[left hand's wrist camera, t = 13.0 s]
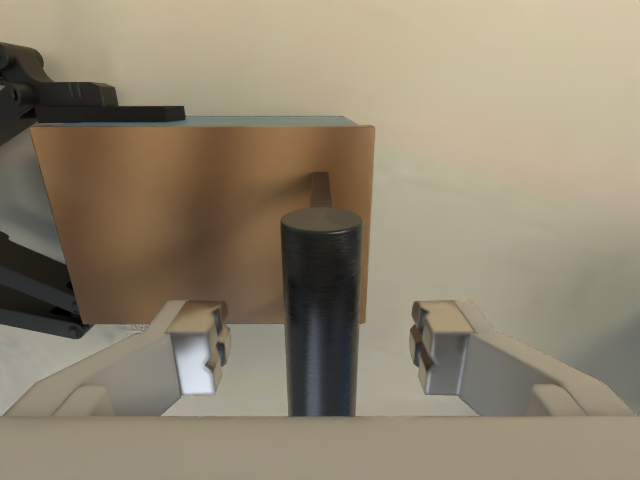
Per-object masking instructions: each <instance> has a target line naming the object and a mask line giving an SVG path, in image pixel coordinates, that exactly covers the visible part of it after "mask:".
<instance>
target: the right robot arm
mask: <svg viewBox="0 0 640 480" xmlns="http://www.w3.org/2000/svg"><path fill="white" fill-rule="evenodd" d="M43 64H44V61H43V58H42V56H41V55H40V53H39V52H38V51H36V50H35V49H32V48H29V47H23V46H18V45H13V44H7V43H2V42H0V85H5V87H4V88H3V89H2V90H1V91H0V146H1V145H3V144H4V143H6V142H7V141H9V140H10V139H12V138H13V137H15V136H16V135H18V134H19V133H21V132H22V131H24V130H25V129H27V128H28V127H30V126H31V125H33V124H34V123H36V122H37V121H38V123H82V122H172V121H179V120H185V112H184V106H118V101H117V96H116V90H115V87H112V86H110V85H107V84H104V83H93V82H54V81H52V80H51V79H50V78H49V77H48V76H47V75H46V73H45V72H44V70H43ZM8 238H9V236H8V235H7V234H5V233H3V232H1V231H0V324H3V325H8V326H13V327H18V328H23V329H28V330H32V331H37V332H42V333H47V334H52V335H57V336H62V337H67V338H72V339H79V338H81V337H82V336H83V335H84V334H85V333H87V332H88V331H89V330H90V329H91V328H92V327H93V326H94V325H95V324H83V323H82V319H81V316H80V312H79V308H78V305H77V301H76V297H75V294H74V290H73V286H72V283H71V279H70V276H69V272H68V268H67V265H65V264H63V263H60V262H58V261H56V260H53V259H51V258H49V257H46V256H44V255H42V254H39V253H37V252H35V251H32V250H30V249H28V248H26V247H23V246H21V245H19V244H16V243H14V242H12V241H10V240H9V239H8Z"/></svg>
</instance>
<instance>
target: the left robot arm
mask: <svg viewBox="0 0 640 480" xmlns="http://www.w3.org/2000/svg"><path fill="white" fill-rule="evenodd" d="M227 317H228V309H227V304H226V302H225V301H204V300H189V301H188V300H170V301H167V302H166V304H165V305H164V306H163V308H162V309H161V310H160V311H159V313H158V314H157V315H156V317H155V318H154V319H153V320H152V322H151V323H150V324H149V326H148V327H147V328H146V329H145V331H144V332H143V333H136V334H134V335H132V336H130V337H128V338H126V339H124V340H122V341H120V342H118V343H116V344H114V345H112V346H110V347H108V348H106V349H104V350H102V351H100V352H98V353H95V354H93V355H91V356H89V357H87V358H85V359H83V360H81V361H79V362H77V363H75V364H73V365H71V366H69V367H67V368H65V369H63V370H61V371H59V372H57V373H55V374H53V375H51V376H49V377H46V378H44V379H42V380H40V381H38V382H36V383H35V384H34V385H33V386H32V387H31V388H30V389H29V390H28V391H27V392H26V393H25V394H24V395H23V396H22V397H21V398H20V399H19V400H18V401H17V402H16V403H15V404H14V405H13V406H12V407H11V408H10V409H9V410H8V411H7V412H6V413H5V414H4V415H3V416H0V480H640V416H638V415H637V414H636V413H635V412H634V411H633V410H632V409H631V408H630V407H628V406H627V405H626V404H625V403H624V402H623V401H622V400H621V399H620V398H619V397H618V396H617V395H616V394H615V393H614V392H613V391H612V390H611V389H610V388H609V387H608V386H607V385H606V384H605V383H603V382H601V381H599V380H597V379H595V378H593V377H591V376H589V375H587V374H585V373H583V372H581V371H579V370H577V369H575V368H573V367H571V366H569V365H567V364H565V363H563V362H561V361H559V360H557V359H555V358H553V357H551V356H549V355H546V354H544V353H542V352H540V351H538V350H536V349H534V348H532V347H530V346H528V345H526V344H524V343H522V342H520V341H518V340H516V339H514V338H512V337H510V336H508V335H506V334H504V333H497V332H496V331H495V329H494V328H493V327H492V326H491V324H490V323H489V322H488V320H487V319H486V318H485V317H484V315H483V314H482V313H481V311H480V310H479V309H478V308H477V306H476V305H475V304H474V303H473V301H471V300H445V301H415V302H414V304H413V308H412V317H413V320H414V322H415V324H414V326H413V327H412V328H411V329H410V339H409V341H410V353H411V357H412V360H413V363H414V364H415V365H416V366H417V367H419V371H418V377H419V380H420V383H421V385H422V388H423V391H424V393H425V395H455V396H459V398H461V399H462V400H463V401H464V402H465V403H466V404H467V405H468V406H470V407H471V408H472V409H473V410H474V411H475V412H476V413H477V414H479V415H480V416H161V415H162V414H163V413H164V412H165V411H166V410H167V409H168V408H170V407H171V406H172V405H173V404H174V403H175V402H176V401H177V400H179V399H180V398H181V396H184V395H215V394H216V391H217V388H218V385H219V383H220V380H221V377H222V370H221V367H223V366H224V365H225V364H226V363H227V360H228V357H229V352H230V344H231V336H230V329H229V328H228V327H227V326H226V324H225V322H226V320H227Z"/></svg>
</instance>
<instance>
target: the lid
mask: <svg viewBox="0 0 640 480" xmlns="http://www.w3.org/2000/svg"><path fill="white" fill-rule="evenodd" d="M29 130H30V134H31V137H32V141H33V144H34V148H35V152H36V155H37V159H38V163H39V166H40V170H41V174H42V177H43V181H44V185H45V188H46V192H47V195H48V199H49V203H50V206H51V210H52V214H53V217H54V221H55V225H56V228H57V232H58V236H59V239H60V243H61V246H62V250H63V254H64V257H65V261H66V265H67V268H68V272H69V276H70V279H71V283H72V286H73V290H74V294H75V297H76V301H77V305H78V308H79V312H80V316H81V319H82V323H83V324H150V323H151V322H152V320H153V319H154V318H155V317H156V315H157V314H158V313H159V311H160V310H161V309H162V308H163V306H164V305H165V304H166V302H167V301H170V300H188V301H189V300H204V301H225V302H226V304H227V309H228V317H227V320H226V322H225V324H285V346H286V370H287V394H288V414H289V416H355V410H356V387H357V364H358V341H359V323H365V318H366V298H367V278H368V259H369V239H370V219H371V199H372V180H373V160H374V140H375V127H374V126H371V125H198V126H35V127H30V128H29Z"/></svg>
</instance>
